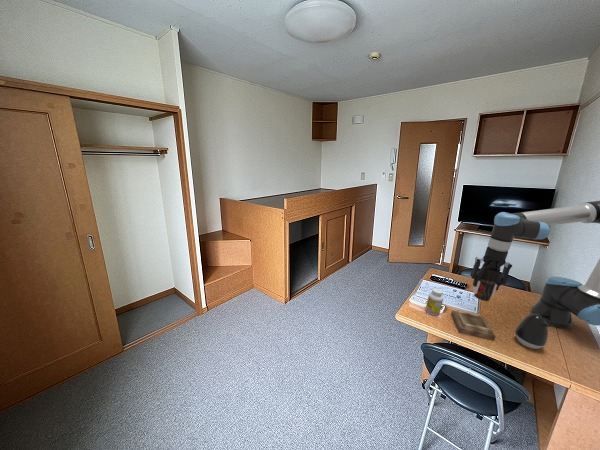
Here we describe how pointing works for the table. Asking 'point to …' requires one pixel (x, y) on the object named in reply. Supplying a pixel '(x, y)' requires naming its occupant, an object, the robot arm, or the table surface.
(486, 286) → the deodorant
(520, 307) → the table surface
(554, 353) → the table surface
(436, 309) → the supplement bottle
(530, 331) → the black rounded dome
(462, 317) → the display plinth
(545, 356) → the table surface
